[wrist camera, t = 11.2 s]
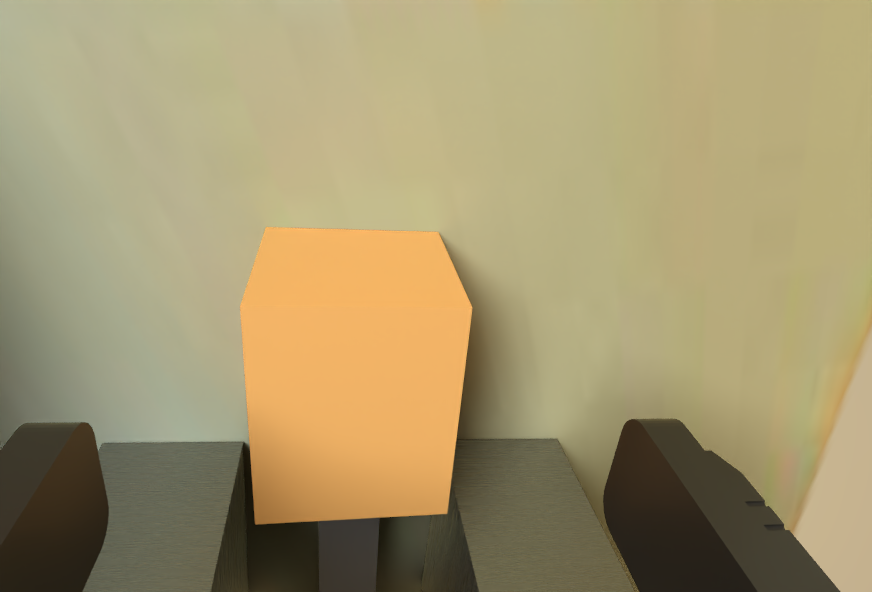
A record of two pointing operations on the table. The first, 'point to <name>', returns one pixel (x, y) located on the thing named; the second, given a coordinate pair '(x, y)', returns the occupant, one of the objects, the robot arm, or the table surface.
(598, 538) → the housing
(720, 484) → the robot arm
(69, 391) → the table surface
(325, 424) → the plug
